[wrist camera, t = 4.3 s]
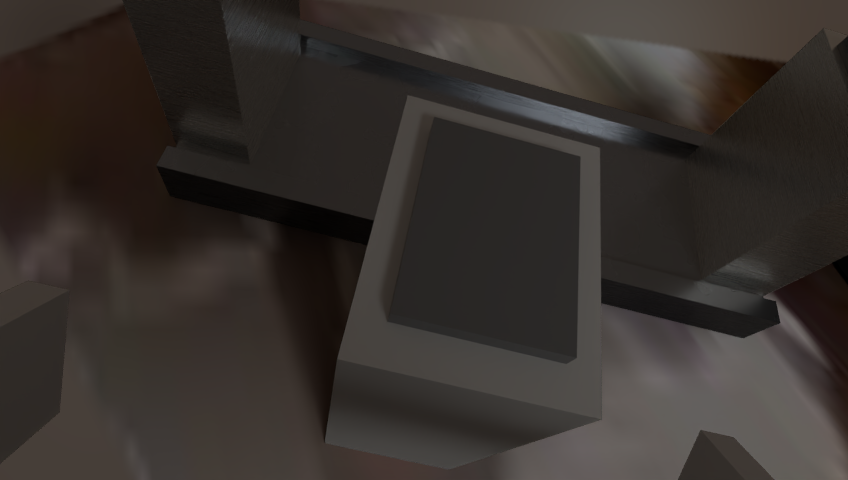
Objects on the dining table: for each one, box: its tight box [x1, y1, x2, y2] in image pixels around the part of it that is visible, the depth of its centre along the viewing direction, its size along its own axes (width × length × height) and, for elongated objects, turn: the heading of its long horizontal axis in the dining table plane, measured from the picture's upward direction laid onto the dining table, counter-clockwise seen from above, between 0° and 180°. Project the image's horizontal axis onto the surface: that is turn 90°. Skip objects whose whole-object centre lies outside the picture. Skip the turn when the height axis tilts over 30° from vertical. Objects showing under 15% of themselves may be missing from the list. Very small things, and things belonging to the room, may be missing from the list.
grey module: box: [325, 95, 602, 470], centre depth 14 cm, size 4×6×11 cm
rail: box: [122, 0, 848, 338], centre depth 20 cm, size 26×10×10 cm, turn 80°
